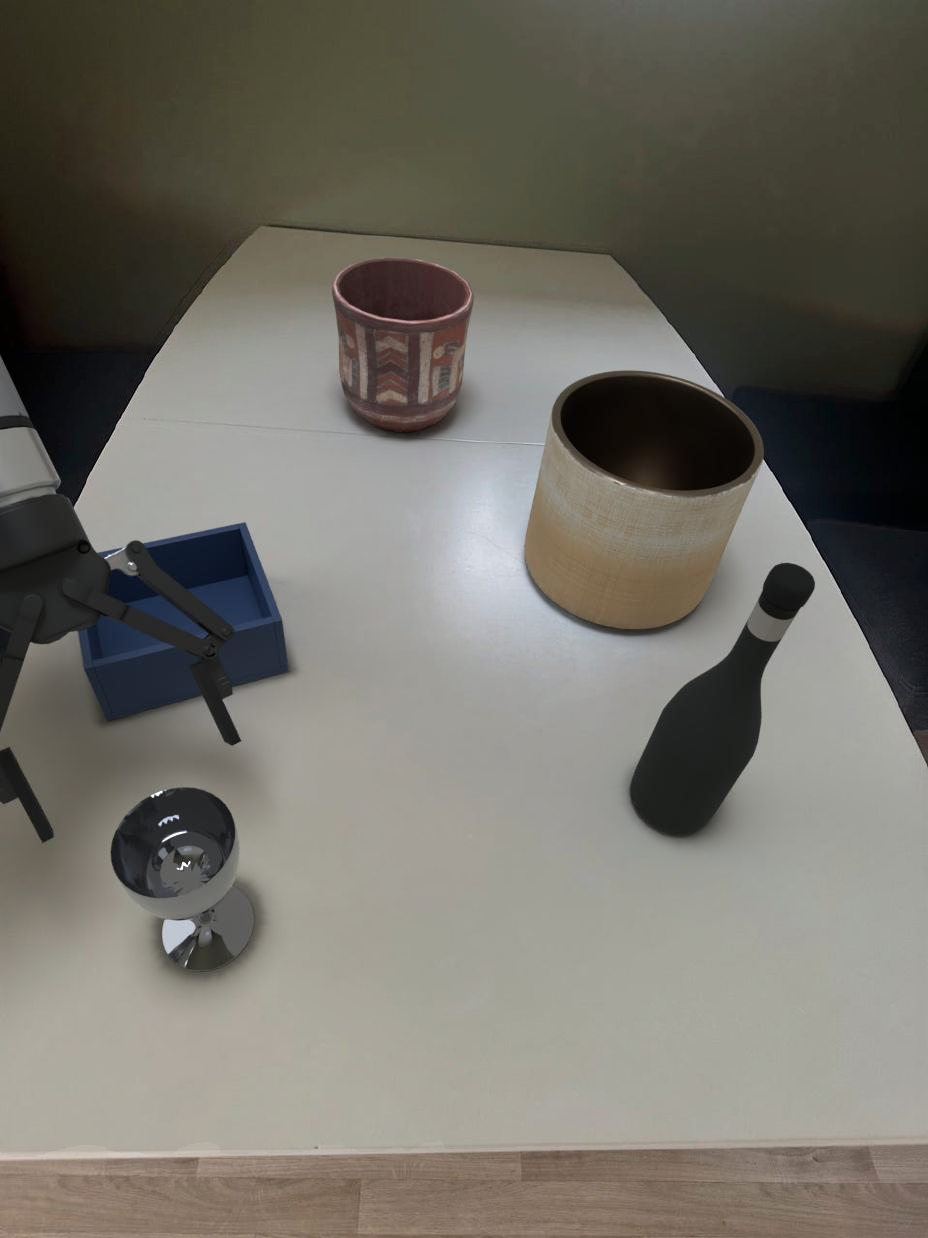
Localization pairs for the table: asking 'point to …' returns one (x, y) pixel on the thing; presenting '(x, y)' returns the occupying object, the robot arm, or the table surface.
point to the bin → (185, 623)
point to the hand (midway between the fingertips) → (145, 786)
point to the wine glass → (186, 874)
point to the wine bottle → (716, 717)
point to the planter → (638, 496)
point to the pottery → (401, 340)
